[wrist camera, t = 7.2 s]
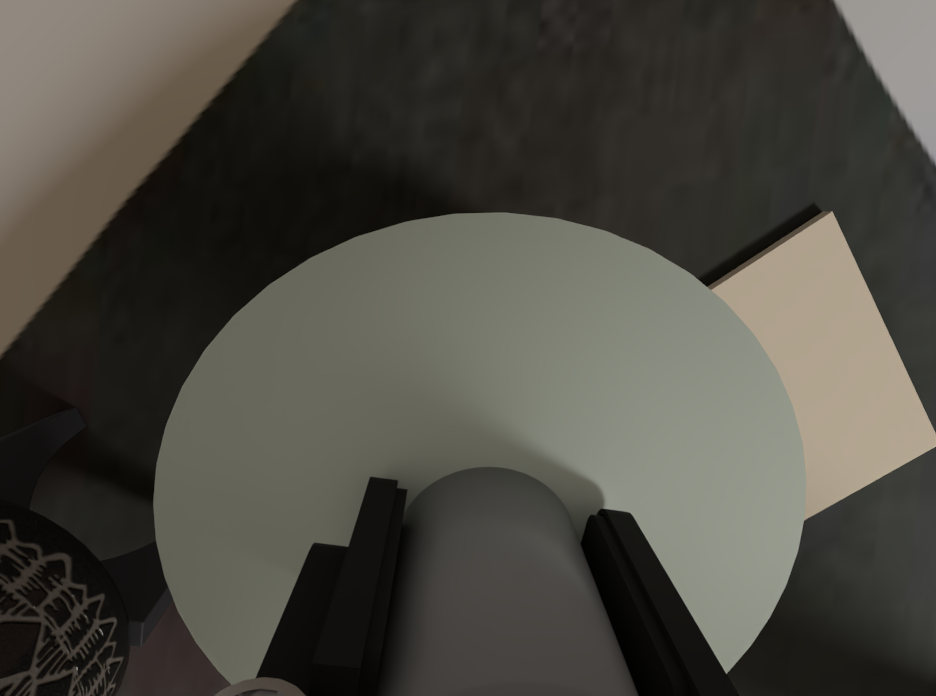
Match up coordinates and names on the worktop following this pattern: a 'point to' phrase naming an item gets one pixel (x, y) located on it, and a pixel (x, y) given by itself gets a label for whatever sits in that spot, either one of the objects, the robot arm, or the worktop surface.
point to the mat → (830, 359)
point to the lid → (482, 452)
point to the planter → (64, 585)
